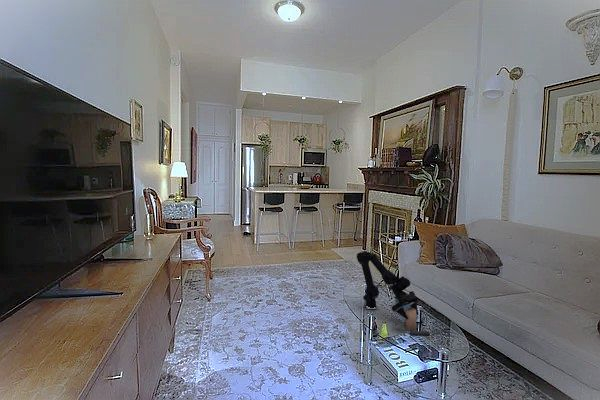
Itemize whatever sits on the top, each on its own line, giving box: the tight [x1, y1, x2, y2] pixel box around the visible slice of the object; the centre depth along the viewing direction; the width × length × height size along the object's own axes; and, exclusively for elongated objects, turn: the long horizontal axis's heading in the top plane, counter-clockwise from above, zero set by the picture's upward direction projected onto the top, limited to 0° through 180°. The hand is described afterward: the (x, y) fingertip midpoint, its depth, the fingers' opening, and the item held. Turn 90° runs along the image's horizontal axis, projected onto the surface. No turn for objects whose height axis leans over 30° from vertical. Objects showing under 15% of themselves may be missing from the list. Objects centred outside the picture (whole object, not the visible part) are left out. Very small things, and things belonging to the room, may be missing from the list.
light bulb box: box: [394, 291, 411, 312], centre depth 219 cm, size 11×7×11 cm, turn 118°
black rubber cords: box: [404, 318, 430, 336], centre depth 198 cm, size 11×15×2 cm
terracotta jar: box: [405, 308, 417, 332], centre depth 198 cm, size 6×6×12 cm
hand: (412, 317), depth 196 cm, fingers open, 9 cm apart
